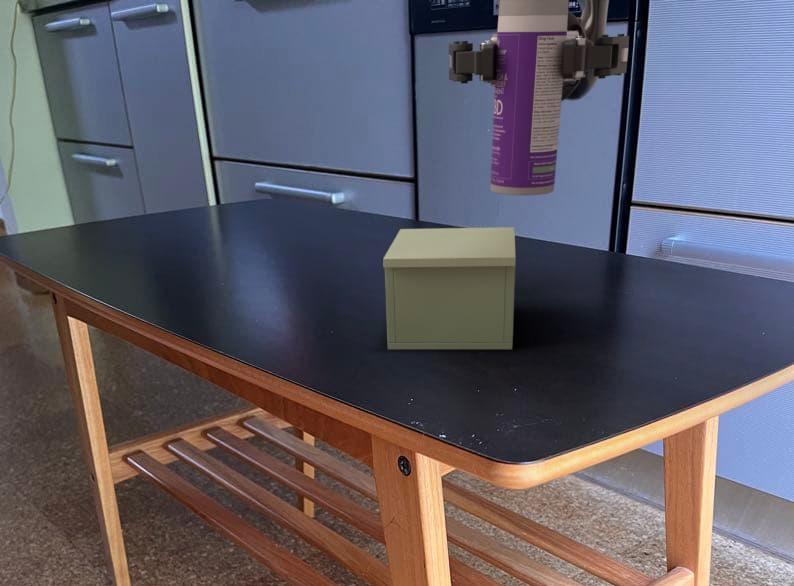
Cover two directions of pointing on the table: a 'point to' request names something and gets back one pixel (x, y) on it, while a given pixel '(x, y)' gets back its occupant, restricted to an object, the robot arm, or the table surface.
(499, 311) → the chest
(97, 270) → the table surface
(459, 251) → the lid
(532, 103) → the container
